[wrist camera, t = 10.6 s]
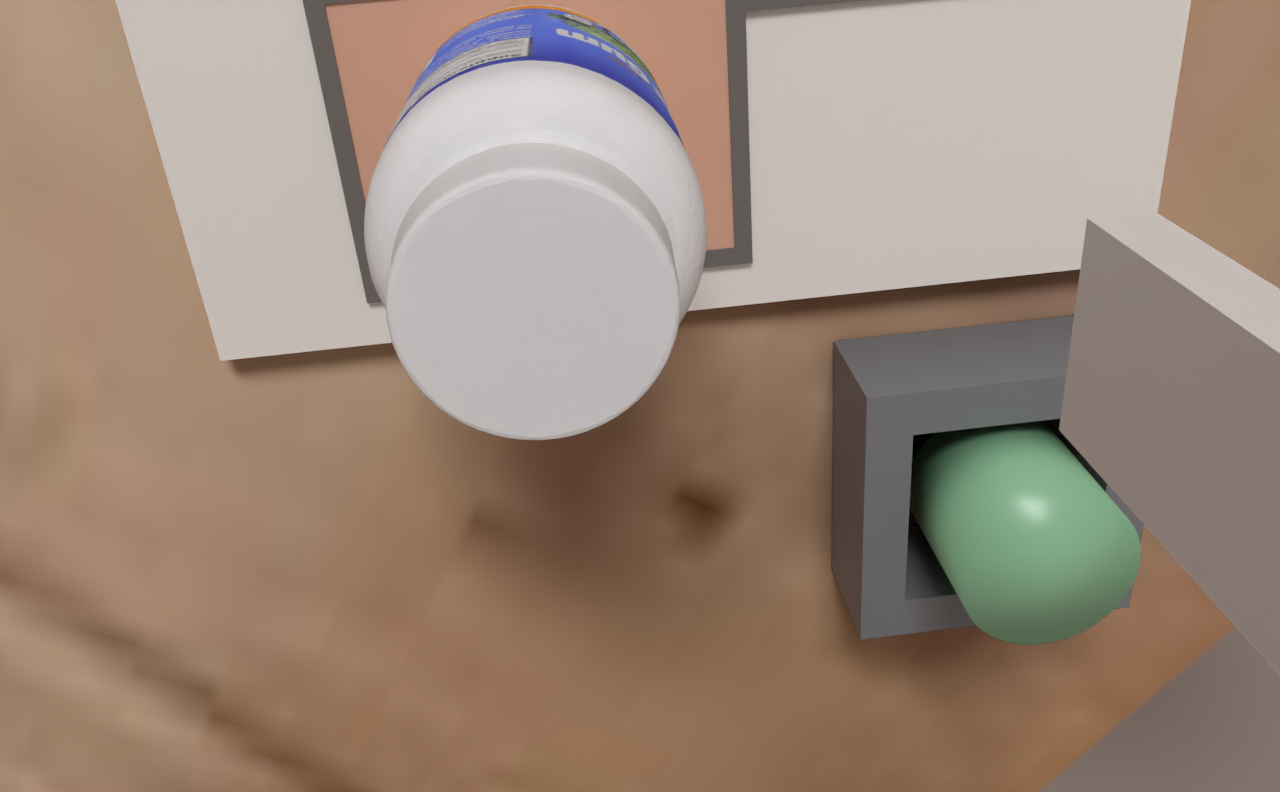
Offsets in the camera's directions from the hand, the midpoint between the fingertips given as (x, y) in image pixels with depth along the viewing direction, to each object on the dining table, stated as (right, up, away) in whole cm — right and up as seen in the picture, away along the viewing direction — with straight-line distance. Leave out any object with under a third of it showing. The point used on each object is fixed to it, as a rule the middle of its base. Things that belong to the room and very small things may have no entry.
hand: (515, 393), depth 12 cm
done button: (+10, -2, +15) cm, 18 cm away
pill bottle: (-1, +6, +11) cm, 12 cm away
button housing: (+10, -1, +16) cm, 19 cm away
